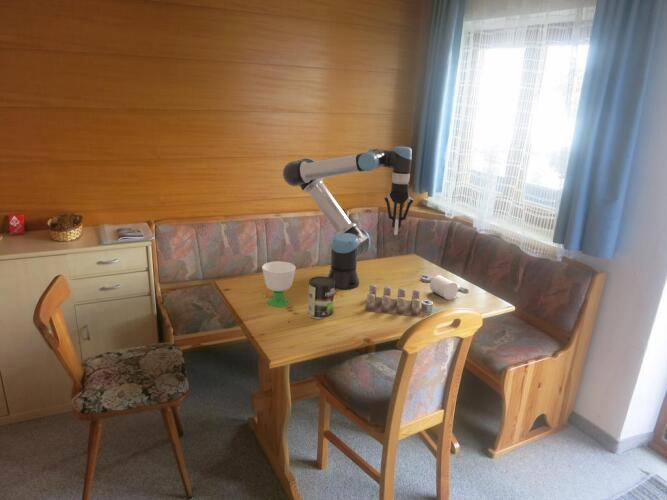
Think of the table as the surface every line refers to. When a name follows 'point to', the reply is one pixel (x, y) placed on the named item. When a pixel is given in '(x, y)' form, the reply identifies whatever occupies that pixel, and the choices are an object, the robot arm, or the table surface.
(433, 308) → the pad
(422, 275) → the adjustable wrench
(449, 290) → the mug
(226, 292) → the table surface
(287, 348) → the table surface
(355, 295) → the table surface
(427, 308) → the nut
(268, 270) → the cup
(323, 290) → the coffee can
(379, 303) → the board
